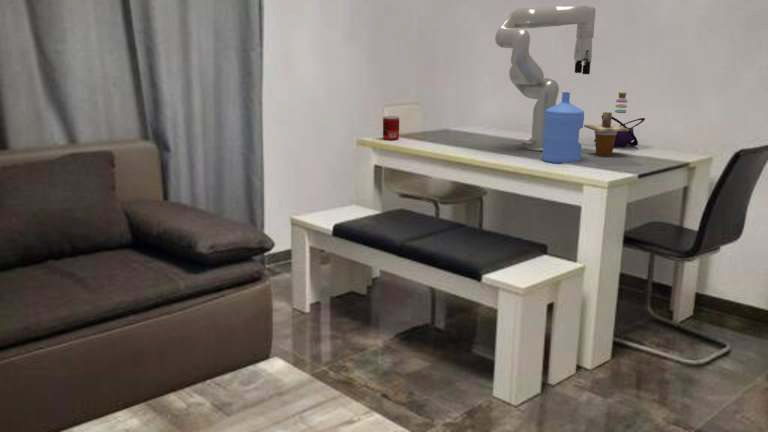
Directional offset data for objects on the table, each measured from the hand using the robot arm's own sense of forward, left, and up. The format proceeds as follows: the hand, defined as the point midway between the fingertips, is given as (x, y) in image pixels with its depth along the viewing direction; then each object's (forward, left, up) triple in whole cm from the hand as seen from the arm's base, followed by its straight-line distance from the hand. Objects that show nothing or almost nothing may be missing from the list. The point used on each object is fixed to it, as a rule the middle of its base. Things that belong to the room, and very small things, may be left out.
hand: (581, 73), depth 332 cm
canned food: (-85, +22, -34) cm, 94 cm away
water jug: (-21, -39, -34) cm, 56 cm away
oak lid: (+1, -30, -21) cm, 37 cm away
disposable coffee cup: (+1, -30, -34) cm, 45 cm away
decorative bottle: (+19, -3, -34) cm, 39 cm away
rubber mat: (-2, -48, -33) cm, 58 cm away
